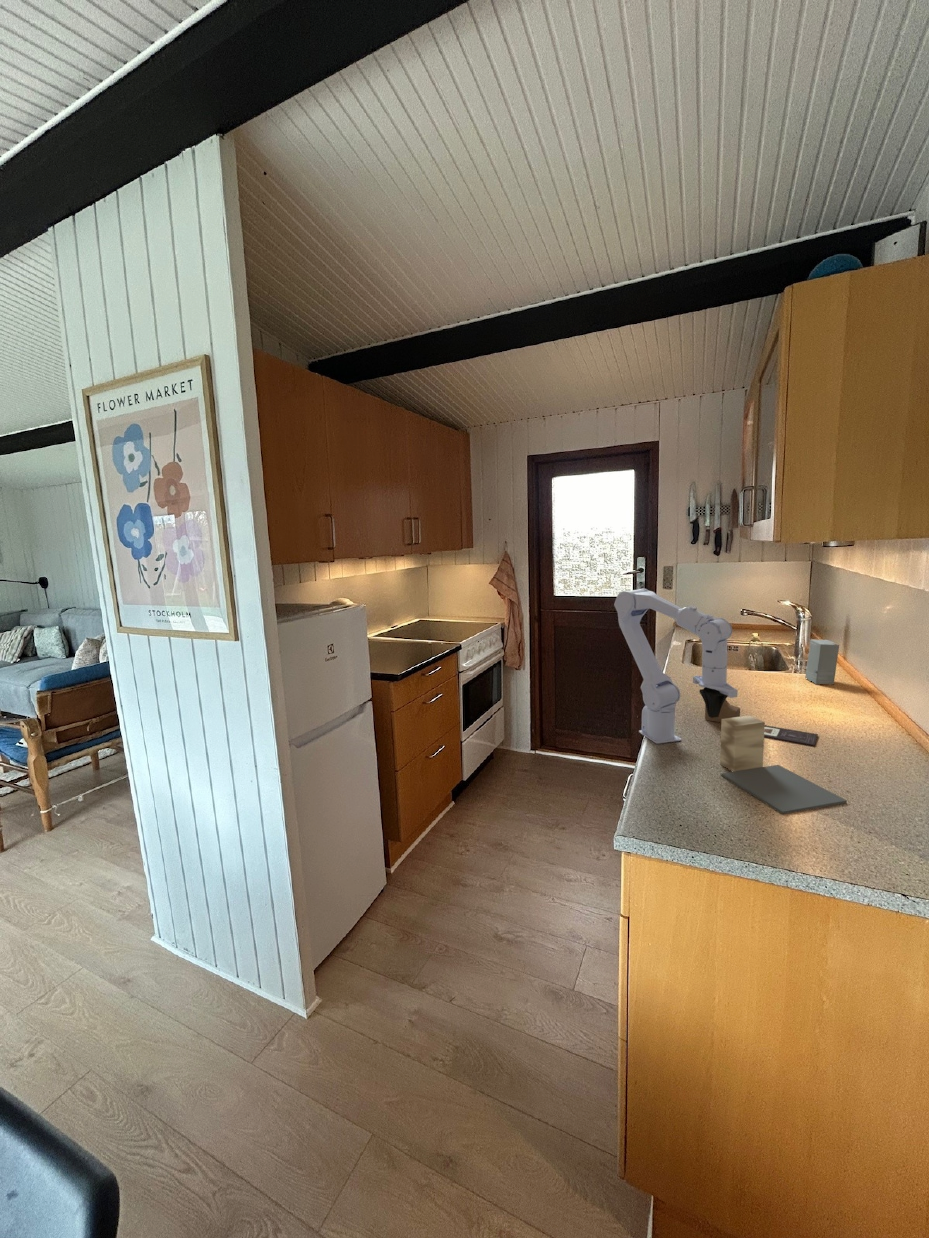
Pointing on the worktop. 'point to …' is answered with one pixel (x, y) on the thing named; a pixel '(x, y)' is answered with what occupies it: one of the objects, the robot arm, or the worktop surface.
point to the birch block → (742, 743)
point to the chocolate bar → (790, 735)
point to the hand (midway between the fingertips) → (713, 716)
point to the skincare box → (822, 661)
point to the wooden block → (724, 712)
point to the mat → (783, 789)
